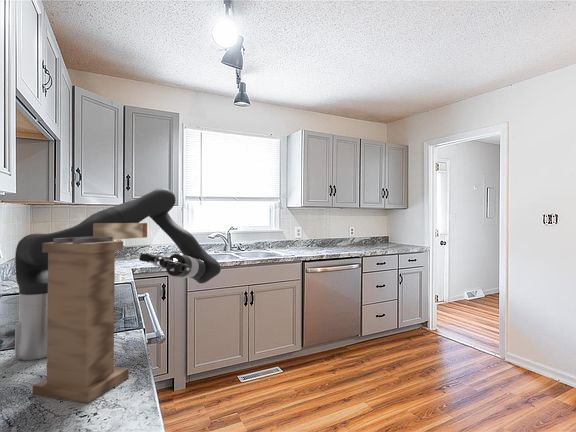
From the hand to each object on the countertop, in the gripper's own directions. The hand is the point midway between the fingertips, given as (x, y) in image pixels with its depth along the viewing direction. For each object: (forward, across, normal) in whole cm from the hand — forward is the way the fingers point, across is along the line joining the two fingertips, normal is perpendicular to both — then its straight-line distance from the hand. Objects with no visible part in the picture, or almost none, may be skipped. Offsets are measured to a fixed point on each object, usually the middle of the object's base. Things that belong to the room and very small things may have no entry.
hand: (152, 260), depth 102 cm
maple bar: (+15, +1, -4) cm, 15 cm away
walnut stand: (+19, +8, +29) cm, 36 cm away
